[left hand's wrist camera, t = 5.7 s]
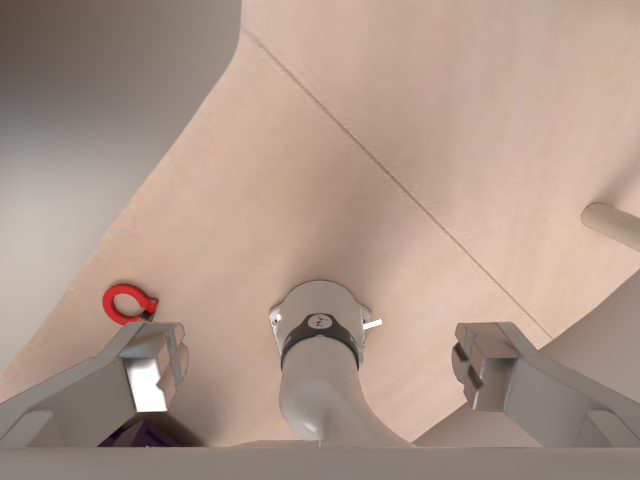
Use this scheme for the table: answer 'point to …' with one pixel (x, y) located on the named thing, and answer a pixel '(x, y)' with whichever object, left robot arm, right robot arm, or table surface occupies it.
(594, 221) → the beige cylindrical piece
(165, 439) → the projector
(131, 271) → the table surface
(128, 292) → the tow hook
